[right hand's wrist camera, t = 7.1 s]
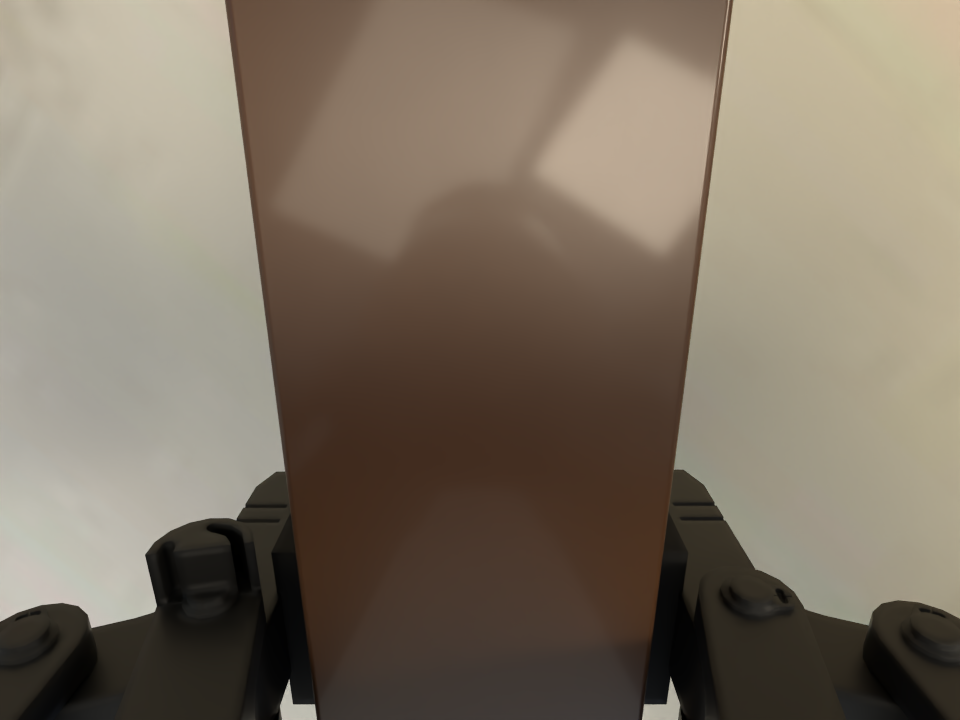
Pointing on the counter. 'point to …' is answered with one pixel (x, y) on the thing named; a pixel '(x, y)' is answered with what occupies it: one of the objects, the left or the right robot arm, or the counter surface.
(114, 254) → the counter surface
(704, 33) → the plank
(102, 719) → the right robot arm
